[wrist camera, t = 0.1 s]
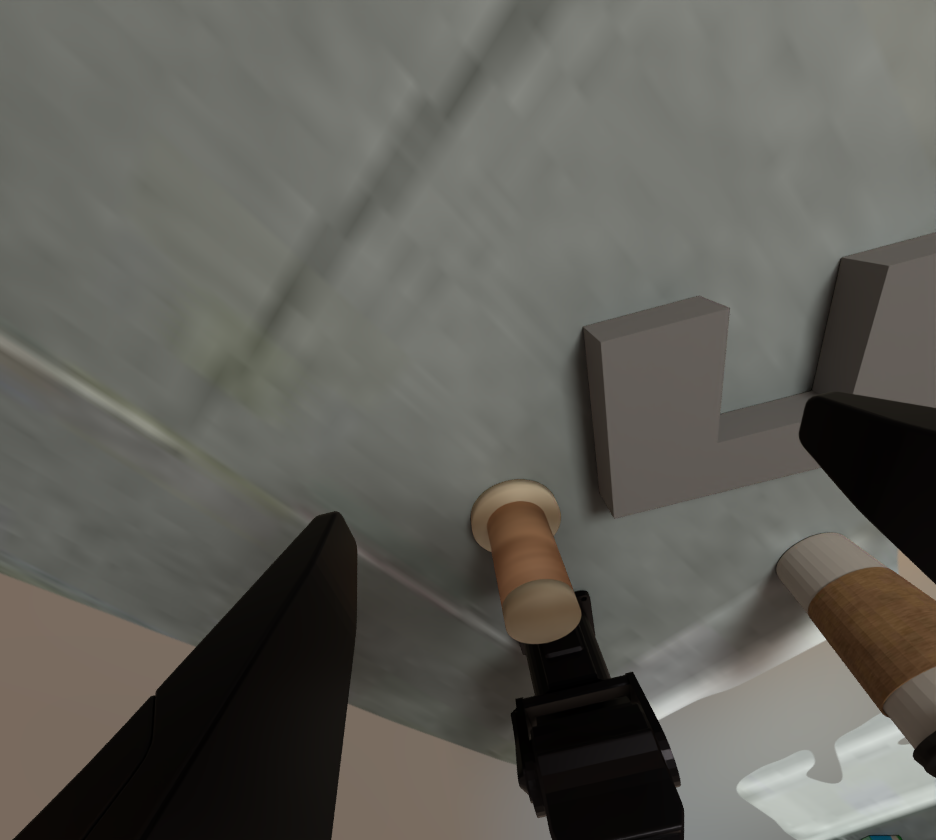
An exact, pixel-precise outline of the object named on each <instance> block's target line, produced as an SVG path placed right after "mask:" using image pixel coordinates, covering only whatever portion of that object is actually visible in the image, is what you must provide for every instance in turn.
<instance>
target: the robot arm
mask: <svg viewBox="0 0 936 840" xmlns="http://www.w3.org/2000/svg"><path fill="white" fill-rule="evenodd" d="M798 435H799V440H800V443H801V444H802V446H803V447H804V448H805V450H806V451H807V452H808V453H809V454H810V455H811V457H812V458H813V459H814V460H815V461H816V462H817V463H818V465H819V466H820V467H821V468H822V469H823V470H824V471H825V473H826V474H827V475H828V476H829V477H830V478H831V480H832V481H833V482H834V483H835V484H836V485H837V486H838V488H839V489H840V490H841V491H842V492H843V493H844V494H845V496H846V497H847V498H848V499H849V500H850V501H851V502H852V503H853V505H854V506H855V507H856V508H857V509H858V510H859V511H860V512H861V513H862V514H863V515H864V516H865V517H866V518H867V519H868V520H869V521H870V522H871V523H872V524H873V525H874V526H875V527H876V528H877V529H878V530H879V531H880V532H881V533H882V534H883V535H884V536H886V537H887V538H888V539H889V540H890V541H891V542H892V543H893V544H894V545H895V546H896V547H897V548H898V549H899V550H900V551H901V552H902V553H903V554H905V556H907V557H908V558H909V559H910V560H911V561H912V562H913V563H914V564H915V565H916V566H917V567H918V568H919V569H920V570H921V571H922V572H923V573H924V574H925V575H926V576H927V577H929V578H930V579H931V580H932V581H933V582H934V583H935V584H936V408H934V407H928V406H922V405H916V404H910V403H904V402H898V401H892V400H886V399H880V398H874V397H868V396H862V395H856V394H850V393H844V392H838V391H834V392H828V393H823V394H819V395H815V396H812V397H811V398H809V399H808V400H807V402H806V404H805V407H804V411H803V416H802V420H801V424H800V428H799V434H798ZM575 596H576V599H577V601H578V604H579V607H580V610H581V619H580V622H579V624H578V625H577V626H576V628H575V629H574V630H573V631H571V632H570V633H569V634H567V635H566V636H564V637H562V638H560V639H558V640H555V641H552V642H548V643H542V644H528V643H522V642H519V644H520V647H521V650H522V653H523V655H526V656H527V661H528V666H529V670H530V675H531V679H532V684H533V688H534V693H535V696H533V697H529V698H524V699H523V697H522V698H518V699H515V700H516V707H517V708H516V709H515V710H514V711H513V712H512V713H511V719H512V725H513V731H514V737H515V747H516V761H517V775H518V782H519V786H520V787H521V788H522V789H523V790H524V791H525V792H526V793H527V794H528V795H529V798H530V801H531V803H533V805H534V809H535V812H536V815H537V817H538V818H540V817H545V816H547V821H548V826H549V831H550V834H551V838H552V840H684V808H683V805H682V802H681V799H680V797H679V794H678V792H677V789H676V787H679V786H680V785H681V784H680V783H681V782H680V777H679V773H678V769H677V766H676V763H675V760H674V757H673V754H672V751H671V748H670V746H669V744H668V741H667V739H666V736H665V734H664V732H663V730H662V728H661V726H660V724H659V722H658V720H657V718H656V716H655V714H654V712H653V710H652V708H651V706H650V704H649V702H648V700H647V698H646V696H645V694H644V692H643V690H642V689H641V687H640V685H639V683H638V681H637V679H636V677H635V675H634V673H633V672H629V673H625V675H623V676H619V677H614V678H611V677H610V674H609V672H608V669H607V666H606V664H605V661H604V658H603V656H602V653H601V651H600V648H599V645H598V643H597V640H596V638H595V630H594V623H593V616H592V608H591V601H590V596H589V594H588V592H587V591H579V592H575ZM356 623H357V545H356V542H355V539H354V537H353V535H352V533H351V531H350V529H349V528H348V526H347V524H346V522H345V520H344V518H343V516H342V515H341V514H340V513H339V512H336V511H334V512H330V513H326V514H321V515H318V516H316V517H315V518H314V519H313V520H312V521H311V522H310V524H309V525H308V526H307V527H306V528H305V529H304V530H303V531H302V532H301V533H300V534H299V536H298V537H297V538H296V539H295V540H294V541H293V542H292V543H291V544H290V545H289V546H288V547H287V549H286V550H285V551H284V552H283V553H282V554H281V555H280V556H279V557H278V558H277V559H276V561H275V562H274V563H273V564H272V565H271V566H270V567H269V568H268V569H267V570H266V571H265V573H264V574H263V575H262V576H261V577H260V578H259V579H258V580H257V581H256V582H255V583H254V585H253V586H252V587H251V588H250V589H249V590H248V591H247V592H246V593H245V594H244V595H243V597H242V598H241V599H240V600H239V601H238V602H237V603H236V604H235V605H234V606H233V607H232V609H231V610H230V611H229V612H228V613H227V614H226V615H225V616H224V617H223V618H222V619H221V620H220V622H219V623H218V624H217V625H216V626H215V627H214V628H213V629H212V630H211V631H210V632H209V634H208V635H207V636H206V637H205V638H204V639H203V640H202V641H201V642H200V643H199V644H198V646H197V647H196V648H195V649H194V650H193V651H192V652H191V653H190V654H189V655H188V656H187V657H186V659H185V660H184V661H183V662H182V663H181V664H180V665H179V666H178V667H177V668H176V669H175V671H174V672H173V673H172V674H171V675H170V676H169V677H168V678H167V679H166V680H165V681H164V682H163V684H162V685H161V686H160V687H159V688H158V689H157V691H156V695H155V696H151V697H150V698H149V699H148V700H147V701H146V702H145V703H144V704H143V705H142V706H141V707H140V709H139V710H138V711H137V712H136V713H135V714H134V715H133V716H132V717H131V719H129V721H128V722H127V723H126V724H125V725H124V726H123V727H122V728H121V729H120V730H119V731H118V732H117V733H116V734H115V735H114V737H113V738H112V739H111V740H110V741H109V742H108V743H107V744H106V745H105V746H104V747H103V748H102V749H101V750H100V751H99V752H98V753H97V755H96V756H95V757H94V758H93V759H92V760H91V761H90V762H89V763H88V764H87V765H86V766H85V767H84V768H83V769H82V771H80V773H78V774H77V775H76V776H75V777H74V778H73V779H72V780H71V781H70V782H69V783H68V784H67V785H66V787H65V788H64V789H63V790H62V791H61V792H60V793H59V794H58V795H57V796H56V797H55V798H54V799H53V800H52V801H51V802H50V803H49V804H48V805H47V806H46V807H45V808H44V809H43V810H42V811H41V812H40V813H39V814H38V815H37V816H36V817H35V818H34V819H33V820H32V821H31V822H30V823H29V824H28V825H27V826H26V827H25V828H24V829H23V830H22V831H21V832H20V833H19V834H18V835H17V836H16V837H15V838H14V839H13V840H331V837H332V829H333V820H334V812H335V804H336V795H337V787H338V779H339V771H340V761H341V754H342V746H343V737H344V729H345V721H346V712H347V704H348V696H349V687H350V679H351V671H352V663H353V654H354V646H355V637H356Z"/></svg>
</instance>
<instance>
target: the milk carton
mask: <svg viewBox="0 0 936 840" xmlns="http://www.w3.org/2000/svg"><path fill="white" fill-rule="evenodd" d="M861 840H902V838H901V837H900V836H899V835H887V836H867V837H865V838H863V839H861Z"/></svg>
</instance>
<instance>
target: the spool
mask: <svg viewBox="0 0 936 840" xmlns="http://www.w3.org/2000/svg"><path fill="white" fill-rule="evenodd" d="M560 521H561V513H560V509H559V507H558V504H557V502H556V500H555V497H554V495H553V494H552V492H551V491H550V490H549V489H548V488H547V487H545V486H544V485H542V484H540V483H538V482H535V481H531V480H525V479H514V480H508V481H504V482H501V483H498V484H496V485H494V486H492V487H490V488H488V489H487V490H486V491H484V492H483V493H482V494H481V495H480V496H479V497H478V498H477V500H476V501H475V503H474V505H473V507H472V510H471V525H472V532H473V535H474V538H475V540H476V541H477V543H478V544H479V545H480V546H481V547H483V548H484V549H486V550H487V551H490V552H492V557H493V562H494V568H495V573H496V578H497V584H498V589H499V594H500V600H501V605H502V610H503V616H504V621H505V627H506V631H507V633H508V634H509V635H510V636H511V637H512V638H513V639H515V640H517V641H519V642H522V643H528V644H542V643H548V642H552V641H555V640H558V639H560V638H562V637H564V636H566V635H567V634H569V633H570V632H571V631H573V630H574V629H575V628H576V626H577V625H578V624H579V622H580V619H581V610H580V607H579V604H578V601H577V599H576V596H575V593H574V591H573V588H572V585H571V583H570V580H569V577H568V574H567V572H566V569H565V566H564V564H563V561H562V558H561V556H560V553H559V550H558V547H557V545H556V542H555V539H554V537H553V536H554V535H555V533H556V532H557V530H558V528H559V525H560Z"/></svg>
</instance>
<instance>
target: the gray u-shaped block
mask: <svg viewBox="0 0 936 840" xmlns="http://www.w3.org/2000/svg"><path fill="white" fill-rule="evenodd" d="M729 314H730V308H729V307H726V306H724V305H721V304H719V303H716V302H714V301H711V300H709V299H706V298H704V297H701V296H696V297H692V298H688V299H685V300H681V301H677V302H673V303H670V304H666V305H662V306H658V307H655V308H651V309H647V310H643V311H640V312H636V313H632V314H628V315H625V316H621V317H617V318H613V319H610V320H606V321H602V322H598V323H595V324H591V325H587V326H584V327H583V331H584V341H585V351H586V361H587V371H588V382H589V392H590V402H591V412H592V422H593V433H594V443H595V453H596V463H597V474H598V484H599V493H600V495H601V496H602V498H603V500H604V502H605V503H606V505H607V507H608V509H609V510H610V512H611V514H612V516H613V517H614V519H615V518H619V517H623V516H627V515H631V514H635V513H640V512H644V511H648V510H652V509H656V508H660V507H664V506H668V505H672V504H676V503H680V502H684V501H688V500H692V499H696V498H700V497H704V496H708V495H712V494H716V493H720V492H724V491H728V490H732V489H736V488H740V487H744V486H748V485H752V484H756V483H760V482H764V481H768V480H773V479H777V478H781V477H785V476H789V475H793V474H797V473H801V472H805V471H809V470H813V469H817V468H821V467H820V466H819V465H818V463H817V462H816V461H815V460H814V459H813V458H812V457H811V455H810V454H809V453H808V452H807V451H806V450H805V448H804V447H803V446H802V444H801V443H800V440H799V435H798V434H799V428H800V424H801V420H802V416H803V411H804V407H805V404H806V402H807V400H808V399H809V398H811V397H812V396H815V395H819V394H823V393H828V392H834V391H838V392H844V393H850V394H856V395H862V396H868V397H874V398H880V399H886V400H892V401H898V402H904V403H910V404H916V405H922V406H928V407H934V408H936V232H935V233H932V234H928V235H924V236H920V237H917V238H913V239H909V240H905V241H902V242H898V243H894V244H890V245H887V246H883V247H879V248H875V249H872V250H868V251H864V252H860V253H857V254H853V255H849V256H846V257H842V259H841V263H840V267H839V272H838V276H837V281H836V285H835V290H834V294H833V299H832V303H831V308H830V312H829V317H828V321H827V326H826V330H825V335H824V339H823V344H822V348H821V353H820V357H819V361H818V366H817V370H816V375H815V379H814V384H813V388H812V391H809V392H805V393H801V394H797V395H793V396H789V397H785V398H781V399H777V400H773V401H770V402H766V403H762V404H758V405H754V406H750V407H746V408H742V409H738V410H734V411H730V412H727V413H723V414H720V410H721V399H722V388H723V378H724V367H725V356H726V346H727V335H728V324H729Z"/></svg>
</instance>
